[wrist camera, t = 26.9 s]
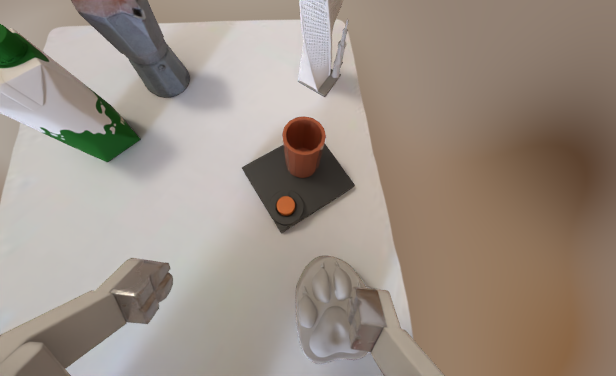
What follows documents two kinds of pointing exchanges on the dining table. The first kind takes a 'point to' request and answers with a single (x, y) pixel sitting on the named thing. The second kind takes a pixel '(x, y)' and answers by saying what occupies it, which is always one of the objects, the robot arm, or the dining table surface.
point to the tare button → (286, 205)
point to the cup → (303, 146)
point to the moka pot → (137, 41)
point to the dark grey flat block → (296, 185)
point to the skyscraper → (320, 44)
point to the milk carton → (57, 101)
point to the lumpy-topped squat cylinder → (326, 310)
